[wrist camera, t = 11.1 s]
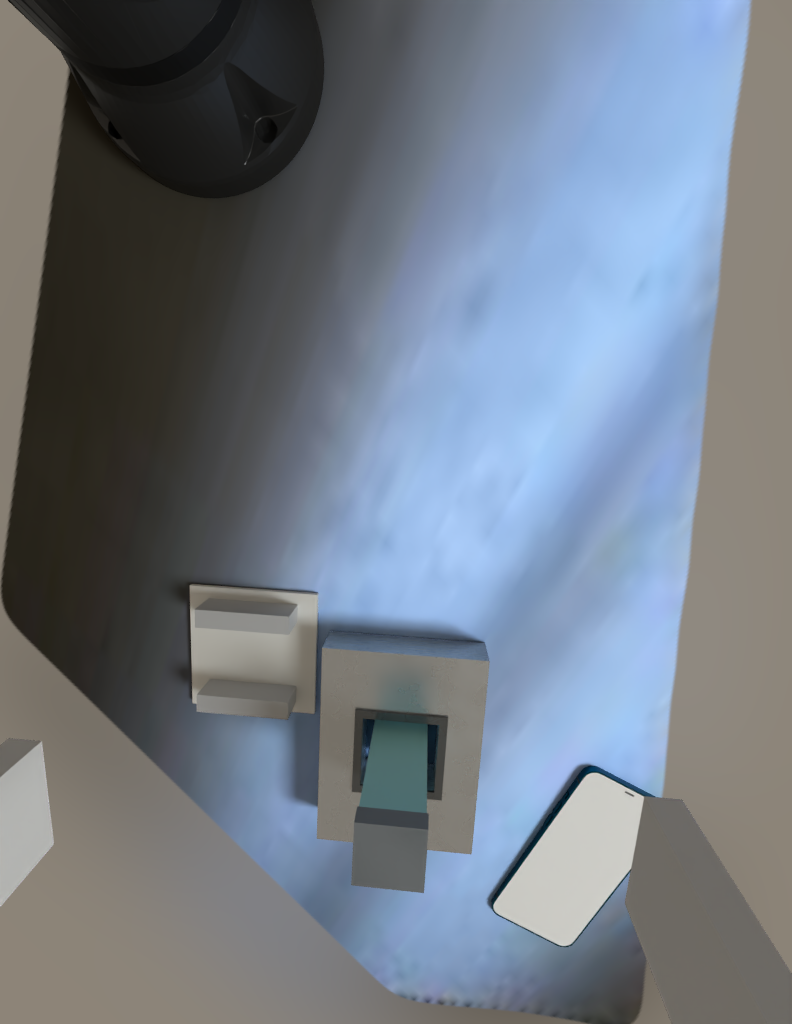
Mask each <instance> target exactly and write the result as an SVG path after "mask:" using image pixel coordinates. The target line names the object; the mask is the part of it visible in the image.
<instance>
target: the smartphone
mask: <svg viewBox="0 0 792 1024" xmlns="http://www.w3.org/2000/svg"><path fill="white" fill-rule="evenodd" d="M644 796H647V797H655V796H653V795H651V794H649V793H647V792H645V791H643V790H641V789H639V788H638V787H636V786H634V785H632V784H630V783H628V782H626V781H624V780H622V779H620V778H618V777H616V776H614V775H613V774H611V773H609V772H607V771H605V770H603V769H601V768H599V767H596V766H588V767H586V768H584V769H583V770H582V771H581V772H580V773H579V775H578V776H577V777H576V779H575V780H574V782H573V783H572V785H571V786H570V787H569V789H568V790H567V792H566V793H565V795H564V796H563V797H562V799H561V800H560V801H559V802H558V803H557V805H556V806H555V808H554V809H553V812H552V813H551V814H550V815H549V816H548V817H547V819H546V820H545V822H544V825H543V826H542V828H541V829H540V830H539V832H538V833H537V835H536V836H535V838H534V839H533V840H532V842H531V843H530V845H529V846H528V848H527V849H526V850H525V852H524V853H523V855H522V856H521V858H520V859H519V860H518V862H517V863H516V865H515V866H514V868H513V869H512V871H511V872H510V873H509V875H508V876H507V878H506V879H505V881H504V882H503V883H502V885H501V886H500V888H499V889H498V891H497V892H496V893H495V895H494V896H493V898H492V901H491V902H492V909H493V911H494V913H495V914H497V915H498V916H500V917H502V918H504V919H506V920H508V921H510V922H512V923H514V924H516V925H518V926H520V927H522V928H524V929H526V930H528V931H530V932H532V933H534V934H536V935H538V936H539V937H541V938H543V939H545V940H547V941H549V942H551V943H553V944H555V945H557V946H560V947H568V946H571V945H572V944H573V943H574V942H575V941H576V940H577V939H578V937H579V936H580V935H581V934H582V932H583V931H584V930H585V929H586V927H587V926H588V925H589V923H590V922H591V921H592V920H593V918H594V917H595V916H596V914H597V913H598V912H599V911H600V909H601V908H602V907H603V906H604V904H605V903H606V902H607V900H608V899H609V898H610V897H611V895H612V894H613V893H614V892H615V890H616V889H617V888H618V886H619V885H620V884H621V883H622V881H623V880H624V879H625V877H626V876H627V875H628V874H629V872H630V871H631V866H632V861H633V855H634V850H635V845H636V839H637V834H638V828H639V823H640V817H641V812H642V806H643V801H644Z"/></svg>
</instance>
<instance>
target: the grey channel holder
mask: <svg viewBox="0 0 792 1024" xmlns="http://www.w3.org/2000/svg"><path fill="white" fill-rule="evenodd" d="M190 619H191V659H192V700H193V703H196V704H197V712H207V713H218V714H229V715H241V716H252V717H263V718H275V719H286V720H288V718H289V716H290V714H291V712H299V713H310V714H315V711H316V672H317V633H318V593H310V592H296V591H283V590H269V589H256V588H242V587H229V586H215V585H202V584H191V585H190Z"/></svg>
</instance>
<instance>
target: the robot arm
mask: <svg viewBox="0 0 792 1024" xmlns="http://www.w3.org/2000/svg"><path fill="white" fill-rule="evenodd" d="M8 1H9V2H10V3H11V4H12V5H13V6H15V8H16V9H18V10H19V11H20V12H21V13H22V14H23V15H24V16H25V17H26V18H27V19H28V20H29V21H30V22H31V23H32V24H33V25H34V26H35V27H36V28H37V29H38V30H39V31H40V32H41V33H42V34H43V35H45V36H46V37H47V38H48V39H49V40H50V41H51V42H52V43H53V44H54V45H55V46H56V47H57V48H58V49H59V50H60V51H61V53H62V55H63V57H64V58H65V60H66V63H67V64H68V66H69V68H70V70H71V72H72V74H73V76H74V78H75V80H76V81H77V83H78V85H79V87H80V89H81V91H82V93H83V95H84V97H85V99H86V100H87V102H88V104H89V106H90V108H91V110H92V112H93V114H94V115H95V117H96V119H97V121H98V122H99V124H100V125H101V127H102V128H103V130H104V131H105V132H106V134H107V135H108V136H109V138H110V139H111V140H112V141H113V142H114V144H115V145H116V146H117V147H118V148H119V149H120V150H121V151H122V152H123V153H124V154H125V155H126V156H127V157H128V158H129V159H131V160H132V161H133V162H134V163H135V164H136V165H138V166H139V167H140V168H141V169H142V170H143V171H145V172H146V173H147V174H148V175H149V176H151V177H152V178H154V179H155V180H156V181H158V182H160V183H161V184H163V185H165V186H167V187H169V188H171V189H173V190H176V191H178V192H181V193H184V194H187V195H191V196H197V197H204V198H222V197H230V196H235V195H239V194H242V193H245V192H248V191H251V190H253V189H255V188H257V187H259V186H261V185H263V184H264V183H266V182H267V181H269V180H270V179H272V178H273V177H275V176H276V175H277V174H278V173H279V172H281V171H282V170H283V169H284V168H285V167H286V166H287V165H288V164H289V163H290V161H291V160H292V159H293V158H294V157H295V155H296V154H297V153H298V151H299V150H300V148H301V147H302V145H303V144H304V142H305V140H306V138H307V137H308V135H309V133H310V130H311V128H312V126H313V123H314V121H315V118H316V115H317V112H318V109H319V105H320V101H321V95H322V89H323V80H324V57H323V47H322V40H321V35H320V31H319V27H318V23H317V20H316V16H315V13H314V9H313V6H312V3H311V0H8ZM53 844H54V841H53V832H52V824H51V815H50V807H49V798H48V790H47V781H46V773H45V765H44V756H43V748H42V741H35V740H24V739H13V738H9V739H7V740H6V741H5V742H3V743H2V744H1V745H0V907H1V905H2V904H3V903H4V902H5V901H6V900H7V898H8V897H9V896H10V895H11V894H12V892H13V891H14V890H15V889H16V888H17V887H18V885H19V884H20V883H21V882H22V881H23V880H24V878H25V877H26V876H27V875H28V874H29V873H30V871H31V870H32V869H33V868H34V867H35V865H36V864H37V863H38V862H39V861H40V860H41V858H42V857H43V856H44V855H45V854H46V853H47V851H48V850H49V849H50V848H51V847H52V846H53ZM625 905H626V907H627V910H628V912H629V915H630V918H631V920H632V923H633V925H634V928H635V931H636V933H637V936H638V938H639V941H640V943H641V946H642V949H643V951H644V954H645V956H646V959H647V962H648V964H649V966H650V969H651V972H652V974H653V977H654V980H655V982H656V985H657V987H658V990H659V992H660V995H661V998H662V1000H663V1003H664V1005H665V1008H666V1011H667V1013H668V1016H669V1018H670V1021H671V1023H672V1024H792V973H791V972H790V970H789V968H788V967H787V965H786V964H785V962H784V960H783V959H782V957H781V956H780V954H779V952H778V951H777V950H776V948H775V946H774V945H773V943H772V942H771V940H770V938H769V937H768V935H767V934H766V932H765V930H764V929H763V927H762V926H761V924H760V923H759V921H758V919H757V918H756V916H755V914H754V913H753V911H752V910H751V908H750V907H749V905H748V903H747V902H746V900H745V899H744V897H743V895H742V894H741V892H740V891H739V889H738V888H737V886H736V884H735V883H734V881H733V880H732V878H731V877H730V875H729V873H728V872H727V870H726V869H725V867H724V865H723V864H722V862H721V861H720V859H719V857H718V856H717V854H716V853H715V851H714V850H713V848H712V846H711V845H710V843H709V842H708V840H707V838H706V837H705V835H704V834H703V832H702V831H701V829H700V827H699V826H698V824H697V823H696V821H695V819H694V818H693V816H692V815H691V814H690V811H689V810H688V808H687V807H686V805H685V804H684V802H683V800H679V799H668V798H658V797H647V796H644V801H643V806H642V812H641V817H640V823H639V828H638V834H637V839H636V845H635V850H634V855H633V861H632V866H631V872H630V877H629V883H628V888H627V894H626V899H625Z"/></svg>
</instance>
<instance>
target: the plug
mask: <svg viewBox="0 0 792 1024" xmlns="http://www.w3.org/2000/svg"><path fill="white" fill-rule="evenodd" d="M427 733H428V724H420V723H408V722H397V721H385V720H375V722H374V728H373V733H372V739H371V744H370V749H369V755H368V760H367V766H366V771H365V777H364V782H363V788H362V793H361V798H360V804H359V806H357V810H356V815H355V820H354V836H353V859H352V883H351V885H355V886H364V887H373V888H383V889H392V890H401V891H411V892H420V893H424V883H425V870H426V856H427V843H428V827H429V813H427Z"/></svg>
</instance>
